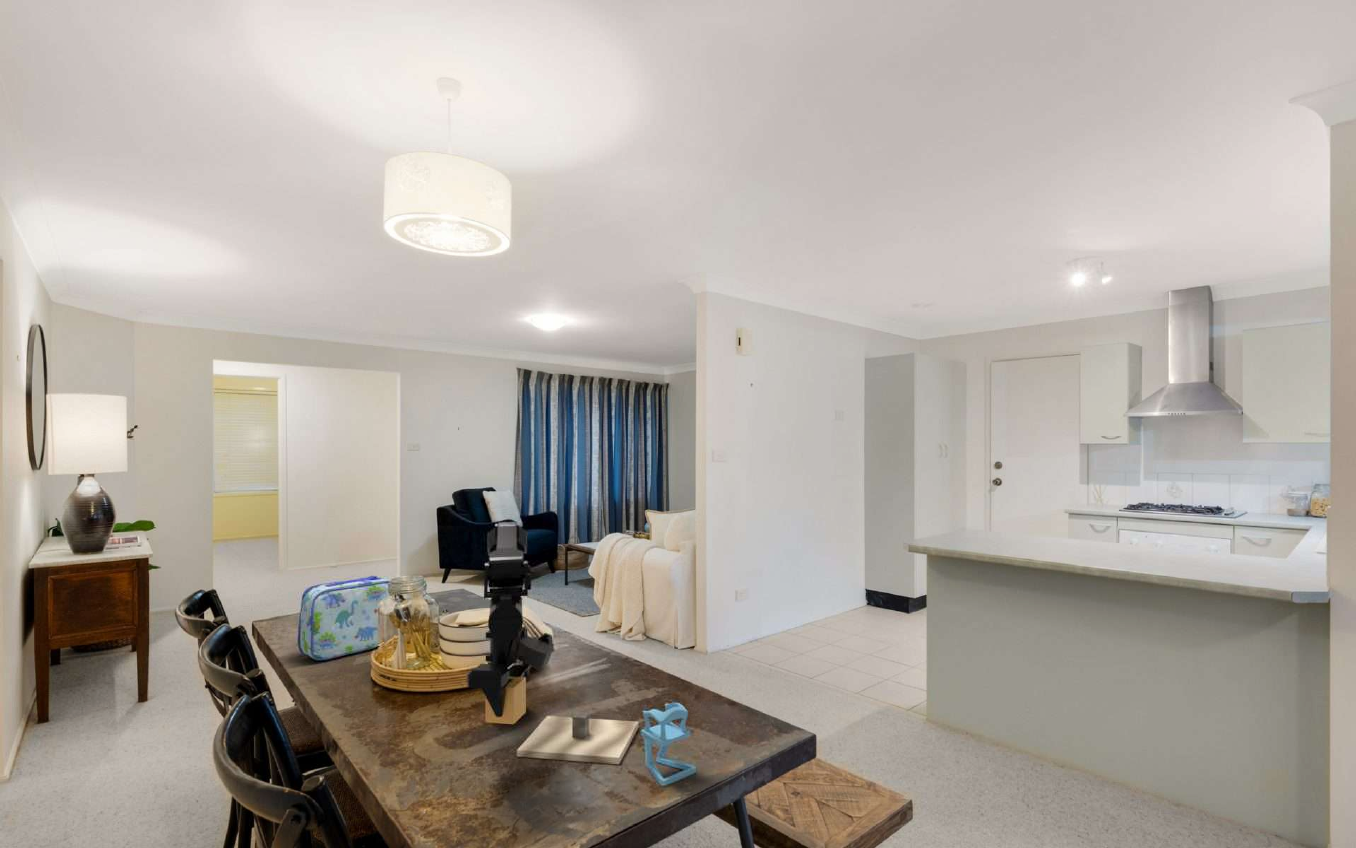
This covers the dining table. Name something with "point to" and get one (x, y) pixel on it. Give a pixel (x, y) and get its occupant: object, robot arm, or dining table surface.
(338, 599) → the lunch box
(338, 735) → the dining table surface
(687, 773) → the chair
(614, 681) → the dining table surface
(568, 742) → the board
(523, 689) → the block
